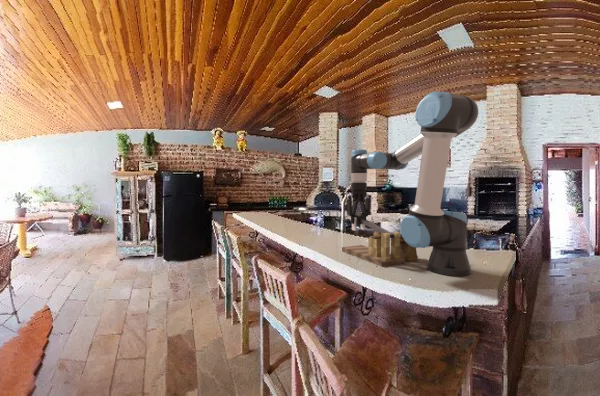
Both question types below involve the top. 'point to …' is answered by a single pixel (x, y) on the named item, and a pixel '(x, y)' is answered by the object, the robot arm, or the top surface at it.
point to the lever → (370, 224)
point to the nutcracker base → (379, 250)
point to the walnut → (377, 235)
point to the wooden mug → (407, 251)
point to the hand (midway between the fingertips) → (358, 229)
